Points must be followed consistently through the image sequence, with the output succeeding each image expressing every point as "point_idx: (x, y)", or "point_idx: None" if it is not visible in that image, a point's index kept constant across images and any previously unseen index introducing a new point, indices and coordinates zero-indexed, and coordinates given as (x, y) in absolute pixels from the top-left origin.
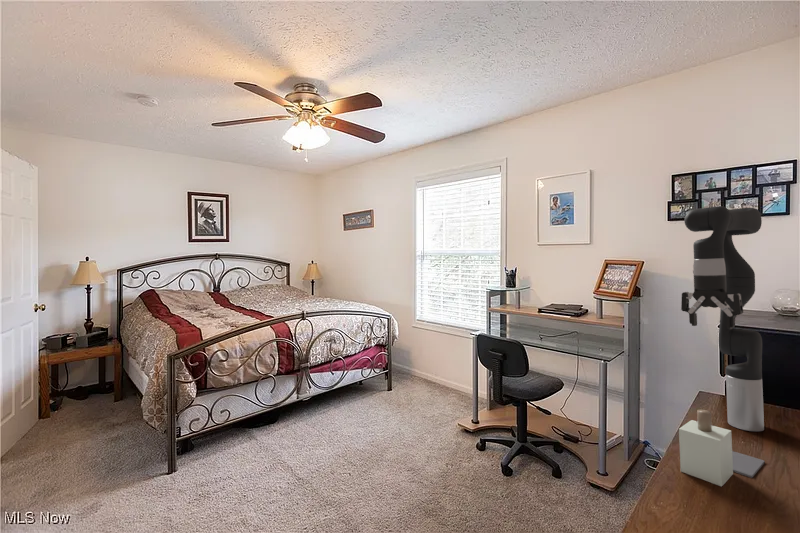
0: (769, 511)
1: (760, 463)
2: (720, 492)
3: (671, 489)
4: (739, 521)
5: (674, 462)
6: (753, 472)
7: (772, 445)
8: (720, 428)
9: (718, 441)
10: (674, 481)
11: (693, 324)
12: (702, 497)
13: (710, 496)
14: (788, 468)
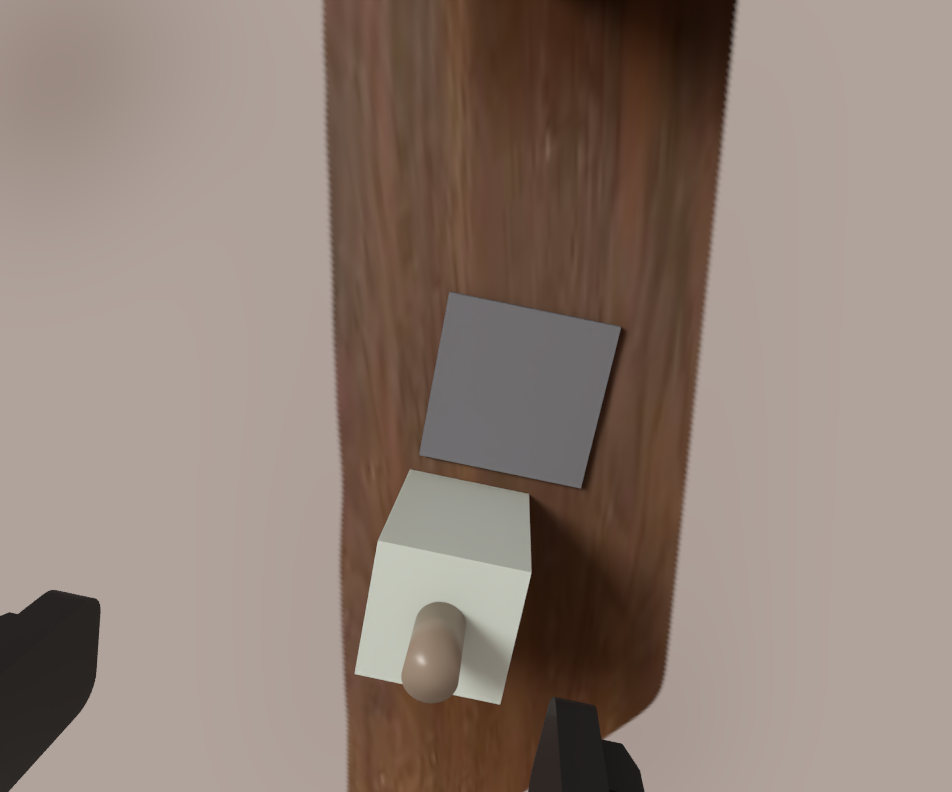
0: (616, 661)
1: (607, 365)
2: None
3: (390, 700)
4: None
5: (362, 523)
6: (585, 459)
7: (655, 104)
8: (492, 573)
9: (495, 701)
10: None
11: (63, 710)
12: None
13: None
14: (689, 323)
